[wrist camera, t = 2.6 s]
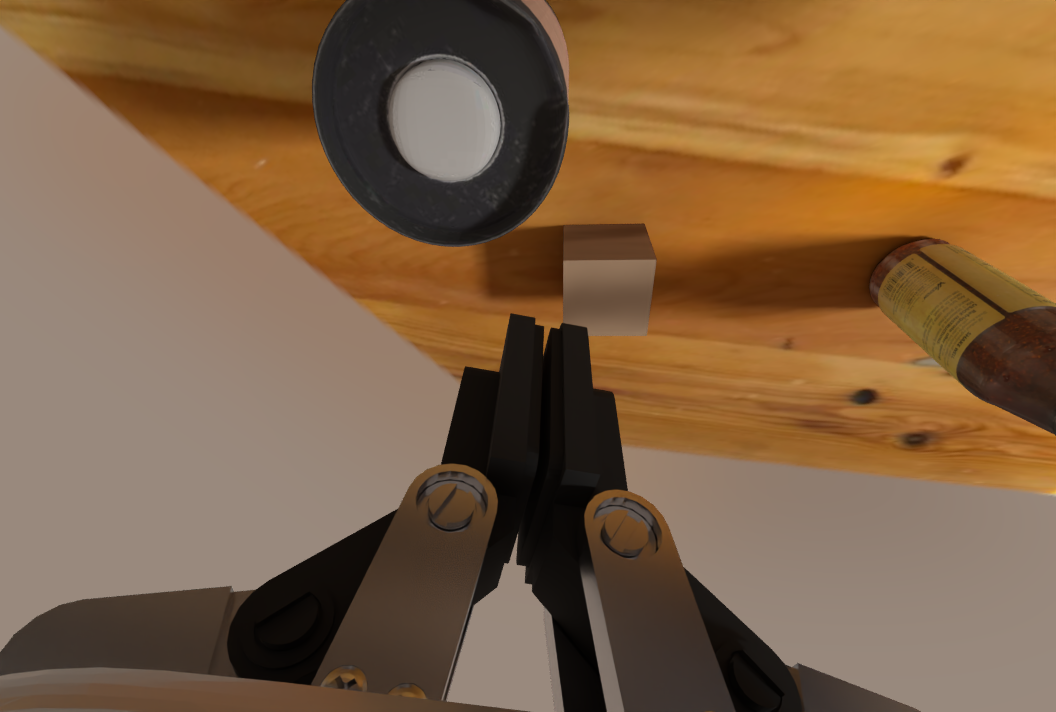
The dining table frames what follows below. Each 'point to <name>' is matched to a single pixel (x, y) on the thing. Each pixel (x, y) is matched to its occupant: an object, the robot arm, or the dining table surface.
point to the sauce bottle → (974, 325)
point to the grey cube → (608, 278)
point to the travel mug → (444, 112)
